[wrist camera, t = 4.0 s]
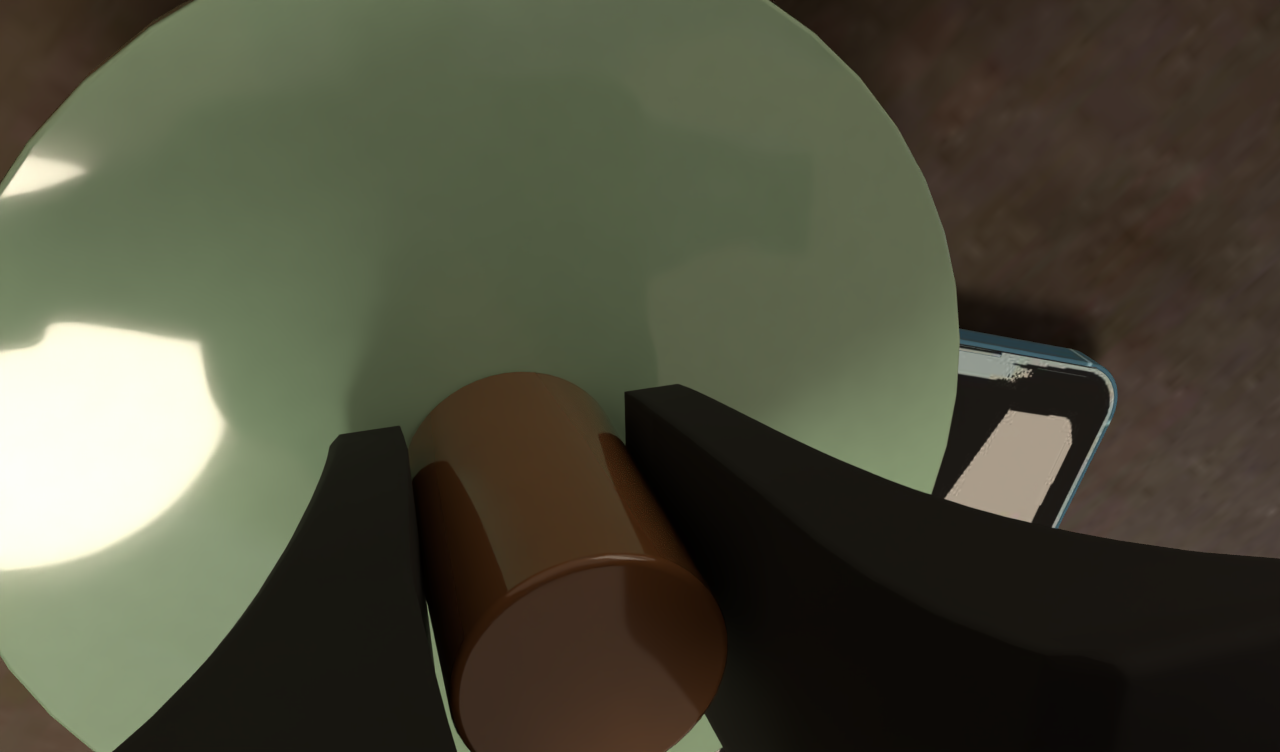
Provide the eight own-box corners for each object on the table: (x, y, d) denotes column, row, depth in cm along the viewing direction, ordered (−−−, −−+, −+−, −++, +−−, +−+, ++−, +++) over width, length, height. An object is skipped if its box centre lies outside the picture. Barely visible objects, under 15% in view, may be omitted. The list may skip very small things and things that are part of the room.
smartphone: (568, 952, 23) (800, 311, 18) (558, 913, 24) (776, 289, 19) (860, 932, 26) (1139, 371, 21) (843, 899, 27) (1105, 349, 22)
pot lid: (962, -103, 12) (1312, -77, 8) (879, 686, 17) (1070, 948, 13) (-215, -64, 9) (-589, 9, 5) (94, 871, 14) (25, 1283, 10)
